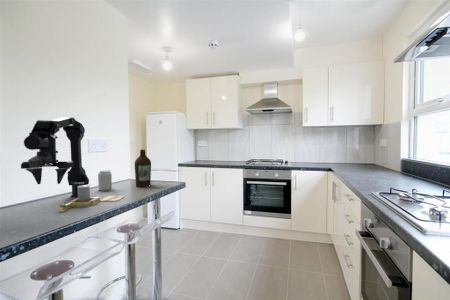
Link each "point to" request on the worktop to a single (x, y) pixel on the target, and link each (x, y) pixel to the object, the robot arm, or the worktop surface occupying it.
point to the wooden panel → (112, 198)
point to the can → (104, 180)
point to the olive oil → (143, 170)
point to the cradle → (92, 200)
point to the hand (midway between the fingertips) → (49, 184)
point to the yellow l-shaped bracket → (73, 205)
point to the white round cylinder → (84, 193)
